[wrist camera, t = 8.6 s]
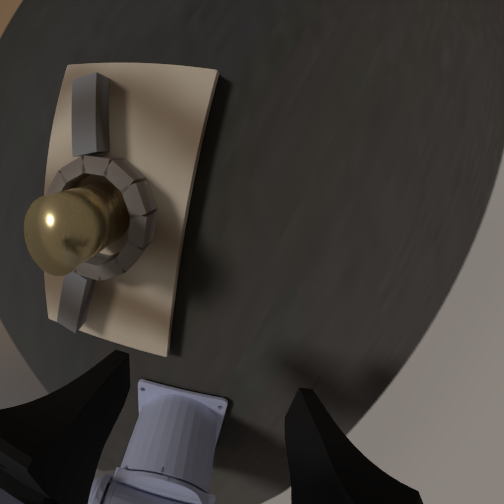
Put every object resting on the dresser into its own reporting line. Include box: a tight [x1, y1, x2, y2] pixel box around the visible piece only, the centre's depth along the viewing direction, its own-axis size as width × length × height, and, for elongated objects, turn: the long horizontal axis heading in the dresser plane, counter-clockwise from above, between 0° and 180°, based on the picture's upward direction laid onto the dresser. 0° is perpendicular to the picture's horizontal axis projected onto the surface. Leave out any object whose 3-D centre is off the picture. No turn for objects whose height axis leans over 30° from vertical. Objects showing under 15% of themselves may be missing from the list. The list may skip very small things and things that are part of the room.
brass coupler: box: [24, 182, 130, 276], centre depth 14 cm, size 4×4×6 cm
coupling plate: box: [44, 63, 219, 357], centre depth 17 cm, size 20×11×3 cm, turn 167°
